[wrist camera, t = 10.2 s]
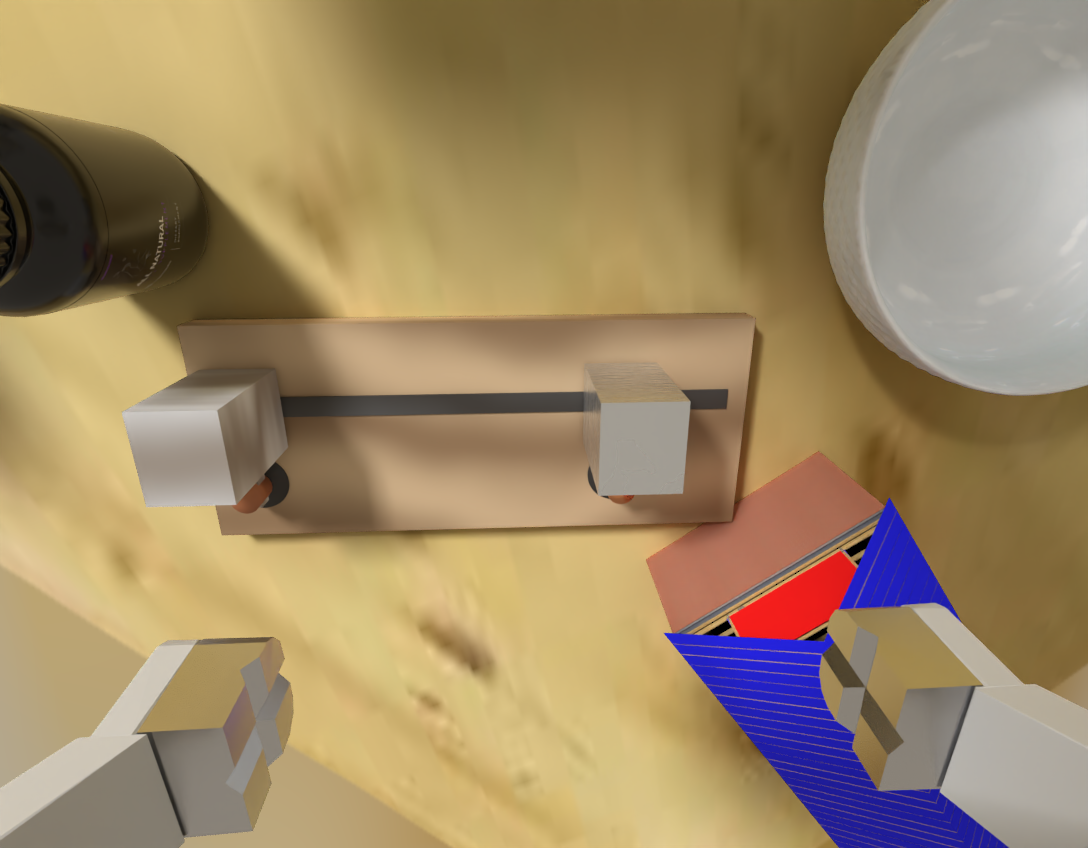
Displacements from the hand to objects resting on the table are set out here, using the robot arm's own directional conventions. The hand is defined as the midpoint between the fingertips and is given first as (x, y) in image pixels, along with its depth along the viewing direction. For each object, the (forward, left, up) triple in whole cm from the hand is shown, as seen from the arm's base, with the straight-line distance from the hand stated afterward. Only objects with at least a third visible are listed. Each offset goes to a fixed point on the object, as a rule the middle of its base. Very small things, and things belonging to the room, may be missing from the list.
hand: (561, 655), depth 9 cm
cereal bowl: (-7, +20, -23) cm, 32 cm away
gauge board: (+5, -3, -23) cm, 23 cm away
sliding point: (+4, +4, -21) cm, 22 cm away
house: (+18, +17, -23) cm, 34 cm away
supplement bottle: (-6, -18, -23) cm, 30 cm away
